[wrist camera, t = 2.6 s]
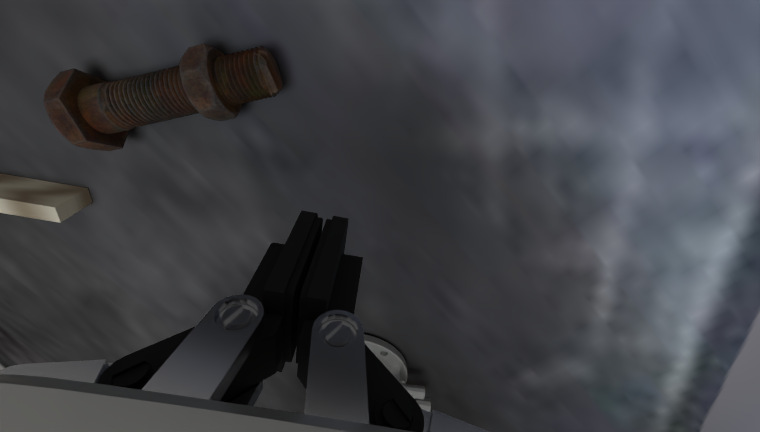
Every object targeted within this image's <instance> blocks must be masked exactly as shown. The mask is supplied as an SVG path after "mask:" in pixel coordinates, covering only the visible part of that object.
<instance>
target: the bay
mask: <svg viewBox="0 0 760 432" xmlns="http://www.w3.org/2000/svg"><path fill="white" fill-rule="evenodd" d="M91 203H92V199H91V196H90V193H89V190H88V188H84V187H78V186H72V185H66V184H60V183H54V182H49V181H43V180H37V179H31V178H25V177H19V176H13V175H7V174H1V173H0V213H5V214H11V215H17V216H23V217H30V218H36V219H42V220H48V221H54V222H60V223H61V222H63V221H64V220H66V219H67V218H69V217H70V216H72V215H73V214H75V213H77V212H78V211H80V210H81V209H83V208H84V207H86V206H88V205H89V204H91Z"/></svg>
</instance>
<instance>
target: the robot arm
mask: <svg viewBox="0 0 760 432" xmlns="http://www.w3.org/2000/svg"><path fill="white" fill-rule="evenodd" d="M322 222H323V219H322V218H318V214H317V213H313V212H307V211H301V213H300V215H299V217H298V219H297V221H296V223H295V225H294V227H293V229H292V231H291V233H290V235H289V237H288V239H287V241H286V243H285V244H279V243H272V244H271V245H270V247H269V248H268V250H267V252H266V254H265V256H264V257H263V259H262V261H261V263H260V265H259V267H258V268H257V270H256V272H255V274H254V276H253V278H252V279H251V281H250V283H249V285H248V287H247V289H246V290H245V292H244V294H240V295H232V296H228V297H225V298H224V299H222V300H220V301H218V302H217V303H216V304H215V305H214V306H213V307H212V308H211V309H210V310H209V311H208V312H207V314H206V315H205V316H204V317H203V318H202V319H201V321H200V322H199V323H198V324H197V325H196V326H195V327H193V328H191V329H188V330H186V331H184V332H181V333H179V334H176V335H174V336H172V337H169V338H167V339H165V340H162V341H160V342H158V343H155V344H153V345H150V346H148V347H146V348H143V349H141V350H139V351H136V352H134V353H132V354H129V355H127V356H125V357H123V358H121V359H119V360H117V361H115V362H114V363H112V364H108V363H107V361H106V360H92V361H73V362H54V363H36V364H21V365H16V366H10V367H8V368H5V369H3V370H0V432H488V431H486V430H483V429H481V428H478V427H476V426H473V425H471V424H468V423H466V422H463V421H461V420H458V419H456V418H453V417H451V416H448V415H446V414H443V413H441V412H438V411H436V410H433V412H432V413H431V412H430V409H431V400H430V398H429V397H425V387H424V386H420V385H409V384H406V382H407V364H406V361H405V359H404V357H403V356H402V354H401V353H400V352H399V351H398V350H397V349H396V348H395V347H393V346H392V345H390V344H389V343H387V342H385V341H383V340H381V339H379V338H376V337H373V336H369V335H365V334H364V329H363V325H362V323H361V322H360V320H359V319H358V318H357V317H356V316H355V315H354V309H355V303H356V297H357V291H358V284H359V278H360V272H361V266H362V260H363V257H357V256H351V255H345V254H344V250H345V242H346V235H347V228H348V218H342V217H336V216H333V218H332V220H330V219H327V220H326V223H325V225H324V228H323V231H322ZM321 233H322V234H321ZM296 346H297V352H296V363H298V371H297V377H298V378H299V379H300V381H301V382H302V384H303V385H304V387H305V388H306V399H305V410H304V414H300V413H294V412H287V411H280V410H274V409H267V408H260V407H254V404H255V402H256V400H257V398H258V396H259V394H260V393H261V391H262V389H263V387H264V384H265V379H266V378H268V377H270V376H271V375H273V374H275V373H276V371H279V372H282V370H283V367H284V364H285V361H286V362H291V361H292V359H293V356H294V352H295V349H296Z"/></svg>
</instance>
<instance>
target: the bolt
mask: <svg viewBox="0 0 760 432" xmlns="http://www.w3.org/2000/svg"><path fill="white" fill-rule="evenodd" d="M281 89H282V79H281V76H280V73H279V70H278V66H277V64H276V61H275V60H274V58H273V56H272V54H271V53H270V51H269V50H267V49H265V48H264V47H263V46H260V47H259V48H258V47H255V49H250V50H248V49H247V50H246V51H241V52H236V53H232V54H227V55H224V54H223V53H222V52H220V51H219V50H217V49H216V48H214V47H211V46H209V45H206V44H201V45H197V46H193V47H189V48H188V50H187V51H186V52H185V53H184V55H183V57H182V59H181V61H180V66H177V67H172V68H168V69H163V70H160V71H156V72H152V73H147V74H143V75H139V76H135V77H130V78H126V79H123V80H118V81H114V82H107V81H104V80H102V79H99V78H97V77H94V76H92V75H89V74H87V73H84V72H82V71H79V70H77V69H70V70H66V71H62V72H60V73H59V74H58V75H57V76H56V77H55V78H54V79H53V80H52V82H51V83H50V84H49V86H48V88H47V89H46V91H45V94H44V105H45V108H46V111H47V114H48V116H49V118H50V120H51V121H52V123H53V125H54V126H55V127H56V129H57V130H58V131H59V132H60V133H61V134H62V135H63V136H64V137H65V138H66V139H67V140H68V141H70V142H71V143H72V144H74V145H76V146H79V147H83V148H88V149H93V150H104V151H112V150H117V149H122V148H123V146H124V143H125V141H126V138H127V135H128V132H129V130H130V129H133V128H135V127H138V126H143V125H147V124H151V123H156V122H161V121H166V120H171V119H175V118H179V117H184V116H188V115H192V114H196V113H200V114H202V115H203V116H204V117H206V118H209V119H213V120H218V121H225V120H230V119H234V118H236V117H237V115H238V113H239V112H240V109H241V107H242V104H243V103H245V102H250V101H254V100H259V99H263V98H267V97H275V96H276V95H277V94H279V91H280V90H281Z"/></svg>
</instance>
